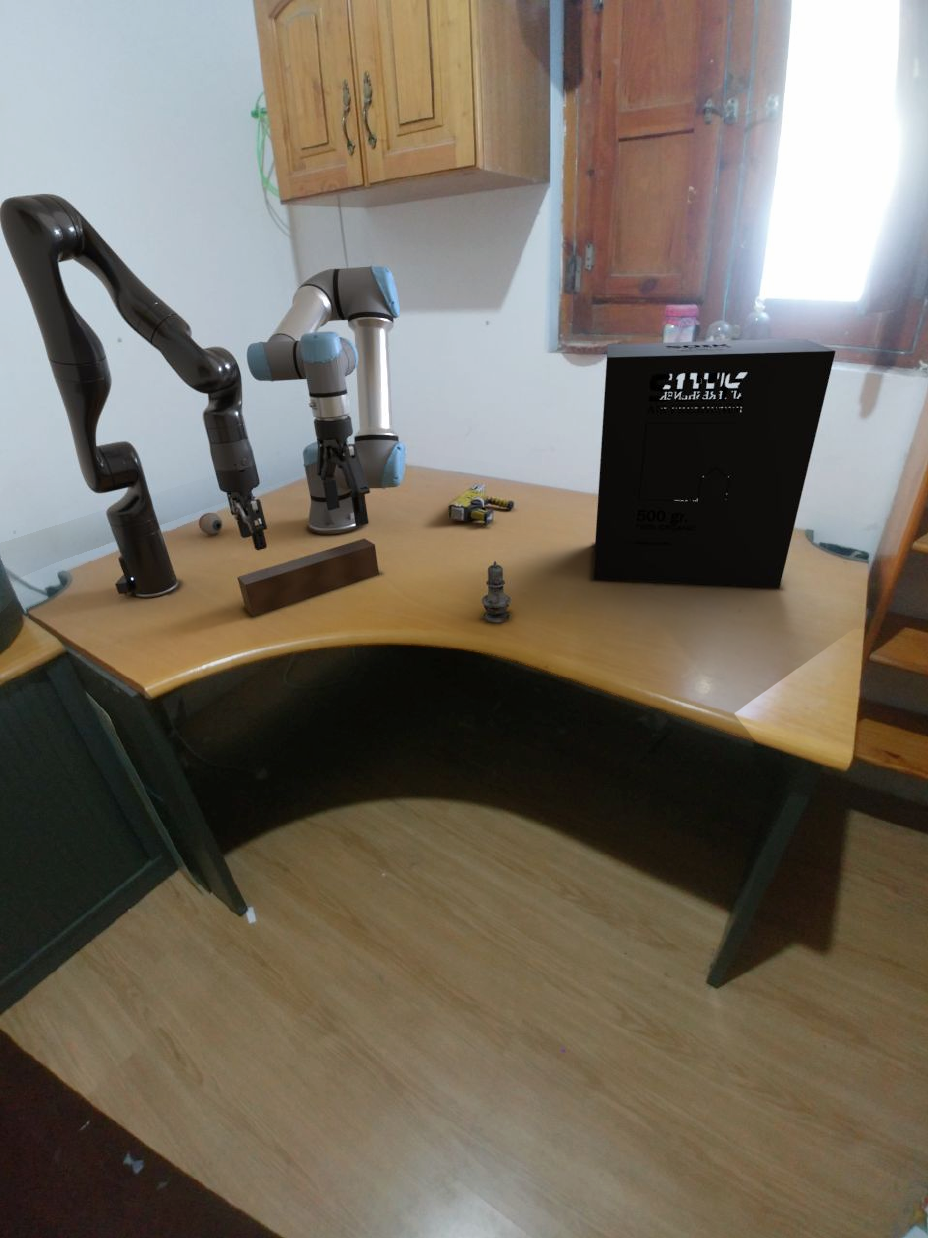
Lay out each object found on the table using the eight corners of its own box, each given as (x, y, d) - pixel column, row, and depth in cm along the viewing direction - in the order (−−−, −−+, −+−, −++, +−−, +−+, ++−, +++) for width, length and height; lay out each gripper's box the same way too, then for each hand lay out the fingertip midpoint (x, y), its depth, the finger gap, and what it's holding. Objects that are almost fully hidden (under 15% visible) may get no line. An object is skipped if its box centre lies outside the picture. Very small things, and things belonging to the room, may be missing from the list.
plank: (253, 617, 125) (245, 584, 122) (245, 608, 129) (237, 576, 125) (379, 574, 140) (375, 544, 137) (368, 567, 144) (364, 538, 140)
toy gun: (522, 488, 179) (474, 481, 183) (499, 513, 159) (446, 504, 163) (520, 503, 181) (473, 496, 185) (498, 529, 161) (446, 520, 165)
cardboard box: (759, 548, 141) (803, 338, 119) (779, 587, 124) (835, 350, 102) (595, 543, 149) (607, 344, 126) (593, 579, 132) (607, 357, 109)
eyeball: (212, 539, 164) (206, 518, 161) (197, 535, 167) (191, 515, 164) (230, 531, 169) (224, 511, 166) (215, 528, 172) (210, 508, 169)
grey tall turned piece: (509, 624, 117) (508, 568, 111) (479, 622, 118) (477, 567, 112) (513, 609, 122) (512, 555, 116) (484, 607, 123) (482, 554, 117)
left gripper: (203, 460, 117) (224, 538, 125) (226, 474, 107) (247, 558, 115) (241, 452, 121) (259, 528, 129) (266, 466, 111) (284, 547, 119)
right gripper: (290, 411, 129) (308, 506, 139) (342, 429, 111) (358, 536, 122) (322, 405, 133) (337, 498, 143) (378, 422, 115) (390, 527, 125)
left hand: (254, 542), depth 122 cm, fingers open, 8 cm apart
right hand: (347, 516), depth 132 cm, fingers open, 13 cm apart
